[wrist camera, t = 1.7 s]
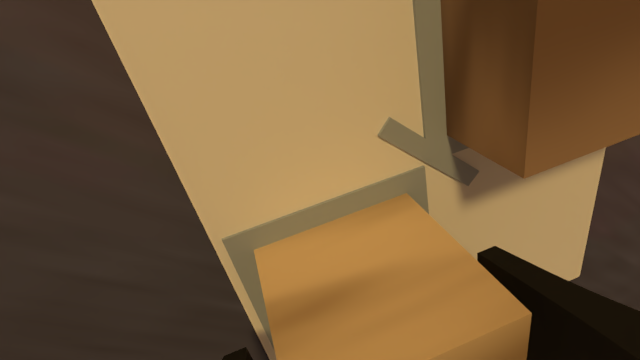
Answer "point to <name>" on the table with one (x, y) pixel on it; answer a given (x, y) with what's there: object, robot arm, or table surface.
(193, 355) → the table surface
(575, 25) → the walnut block
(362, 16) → the board
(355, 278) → the oak block
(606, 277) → the table surface
